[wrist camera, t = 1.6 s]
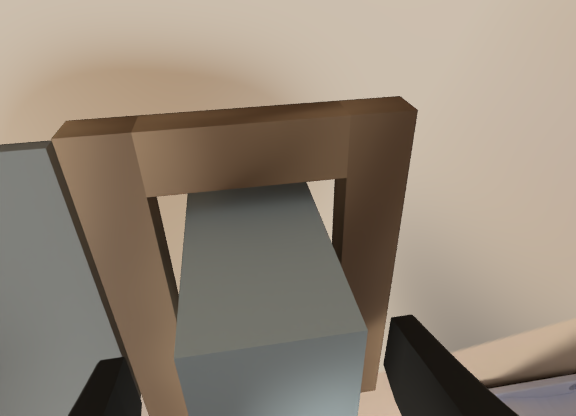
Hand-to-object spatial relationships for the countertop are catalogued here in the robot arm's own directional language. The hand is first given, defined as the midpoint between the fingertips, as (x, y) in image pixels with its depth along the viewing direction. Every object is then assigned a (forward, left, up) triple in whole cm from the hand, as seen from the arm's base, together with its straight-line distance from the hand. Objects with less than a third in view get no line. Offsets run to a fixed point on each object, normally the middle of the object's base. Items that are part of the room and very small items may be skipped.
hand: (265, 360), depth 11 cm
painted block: (0, 0, -4) cm, 4 cm away
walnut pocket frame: (0, 0, -4) cm, 4 cm away
